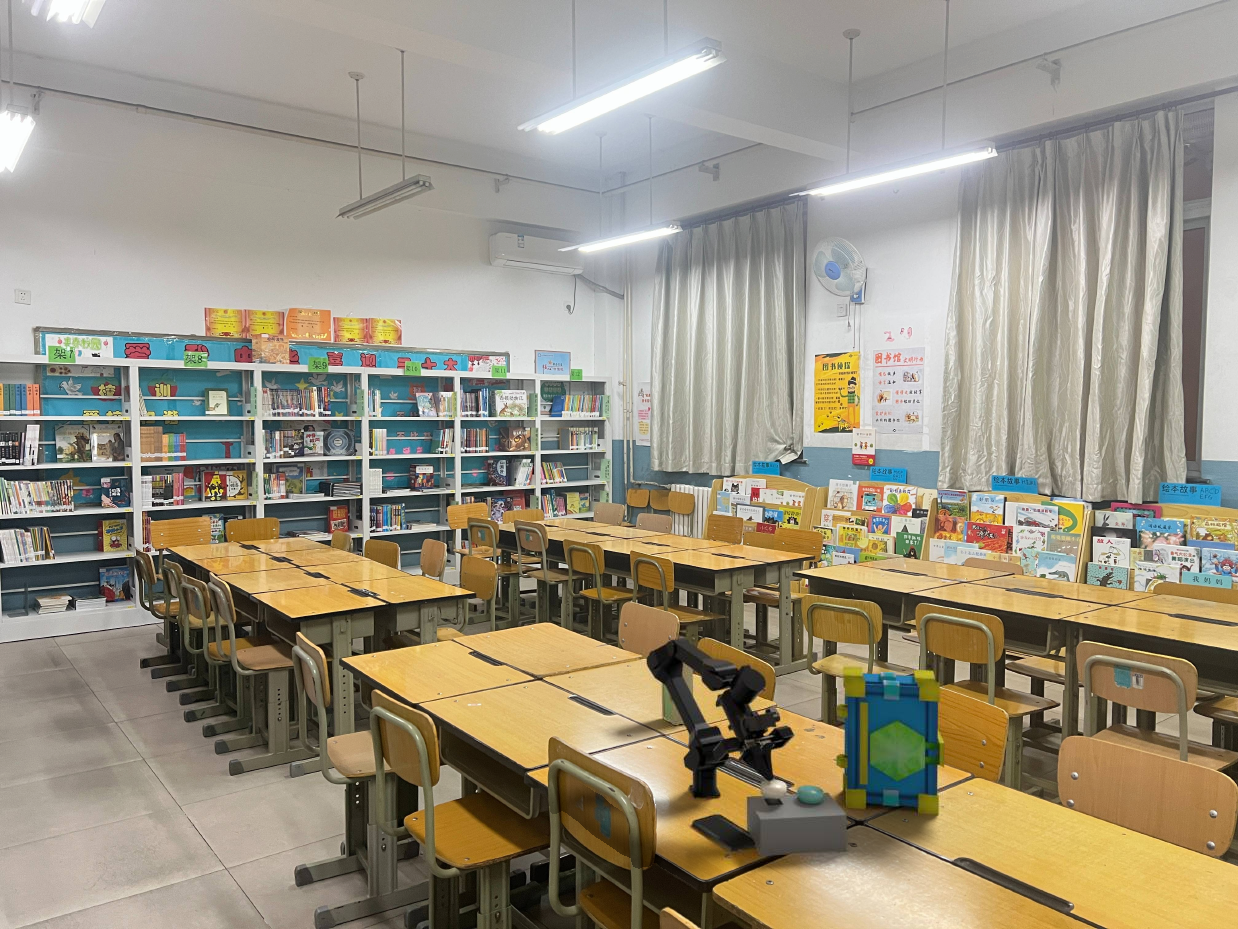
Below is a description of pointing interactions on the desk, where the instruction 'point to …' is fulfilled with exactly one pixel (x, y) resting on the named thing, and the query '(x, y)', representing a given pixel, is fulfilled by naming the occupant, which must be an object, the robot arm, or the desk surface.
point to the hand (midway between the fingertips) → (771, 780)
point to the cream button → (773, 790)
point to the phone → (724, 832)
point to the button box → (796, 825)
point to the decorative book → (891, 739)
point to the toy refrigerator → (667, 703)
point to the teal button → (810, 794)
